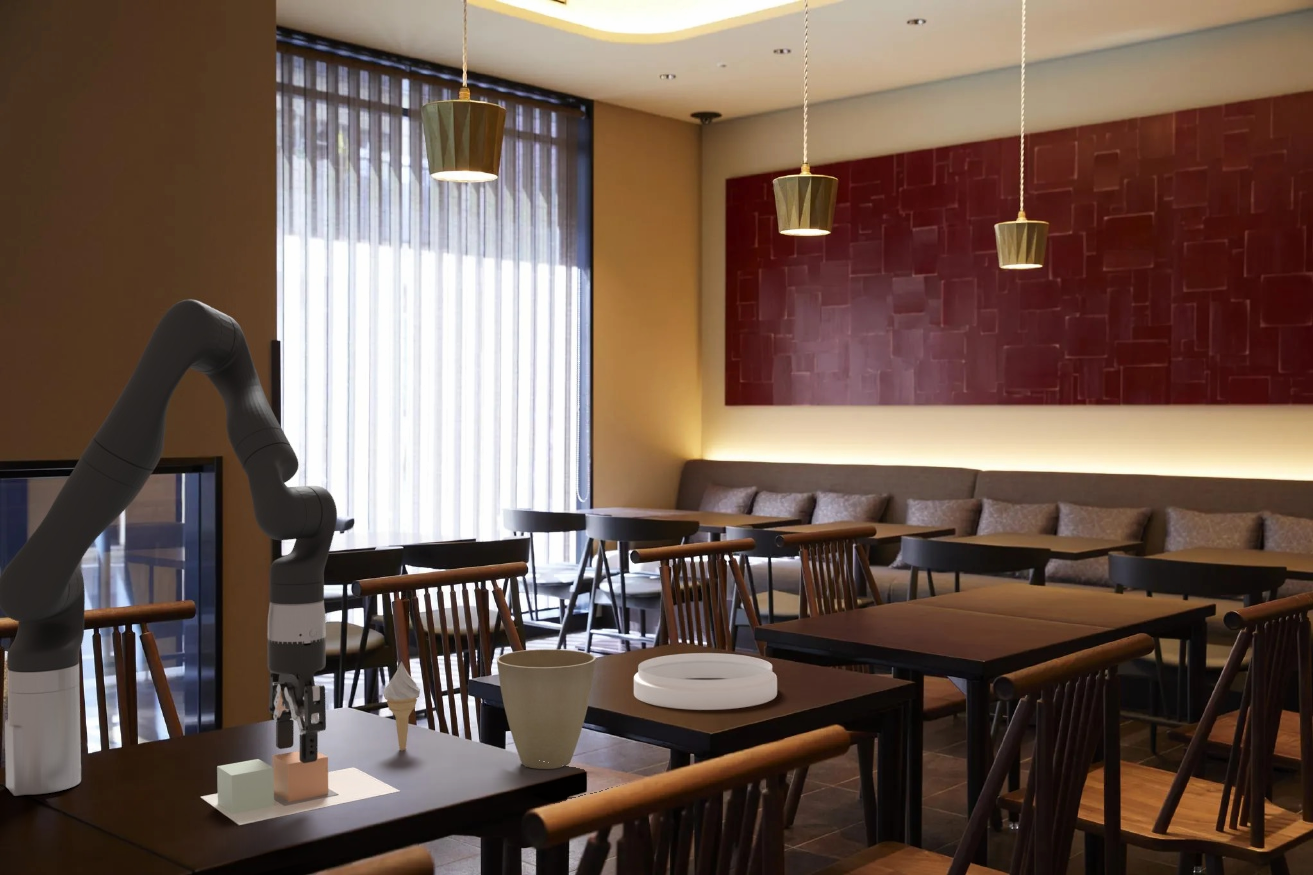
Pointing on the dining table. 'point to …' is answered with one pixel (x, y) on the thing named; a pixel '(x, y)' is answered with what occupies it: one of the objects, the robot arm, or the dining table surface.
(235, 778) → the sage brick
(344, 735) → the dining table surface
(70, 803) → the dining table surface
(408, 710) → the ice cream cone
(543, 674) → the plant pot
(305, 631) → the robot arm
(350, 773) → the baseplate
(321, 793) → the terracotta brick
